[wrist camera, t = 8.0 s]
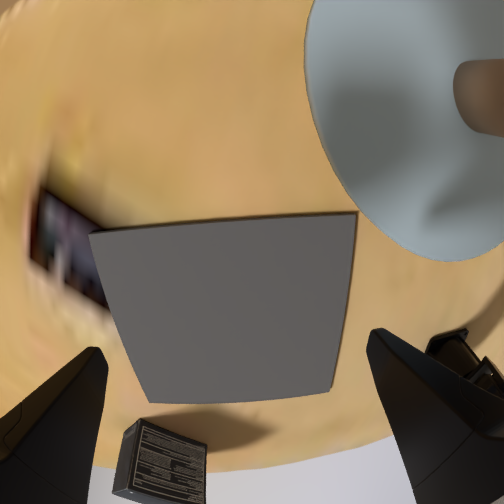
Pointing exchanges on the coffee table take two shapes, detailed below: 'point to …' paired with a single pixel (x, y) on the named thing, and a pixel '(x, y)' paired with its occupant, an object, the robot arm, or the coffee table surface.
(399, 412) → the robot arm
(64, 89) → the coffee table surface
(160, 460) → the small box
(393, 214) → the lid
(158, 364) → the mat
